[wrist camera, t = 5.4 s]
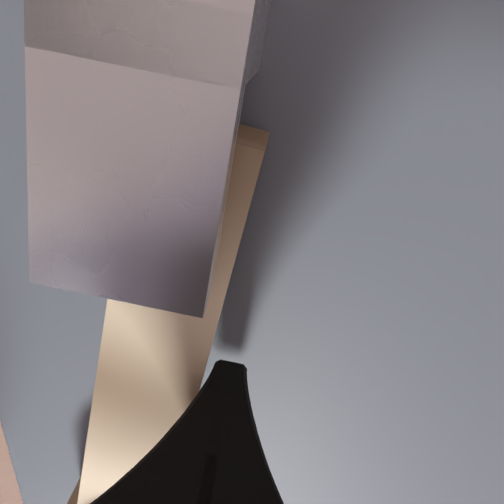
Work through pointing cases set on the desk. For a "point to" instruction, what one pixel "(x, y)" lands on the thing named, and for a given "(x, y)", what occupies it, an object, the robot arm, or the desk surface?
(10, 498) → the desk surface
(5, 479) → the desk surface
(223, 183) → the block
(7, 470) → the desk surface
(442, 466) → the pivot plate
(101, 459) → the link
